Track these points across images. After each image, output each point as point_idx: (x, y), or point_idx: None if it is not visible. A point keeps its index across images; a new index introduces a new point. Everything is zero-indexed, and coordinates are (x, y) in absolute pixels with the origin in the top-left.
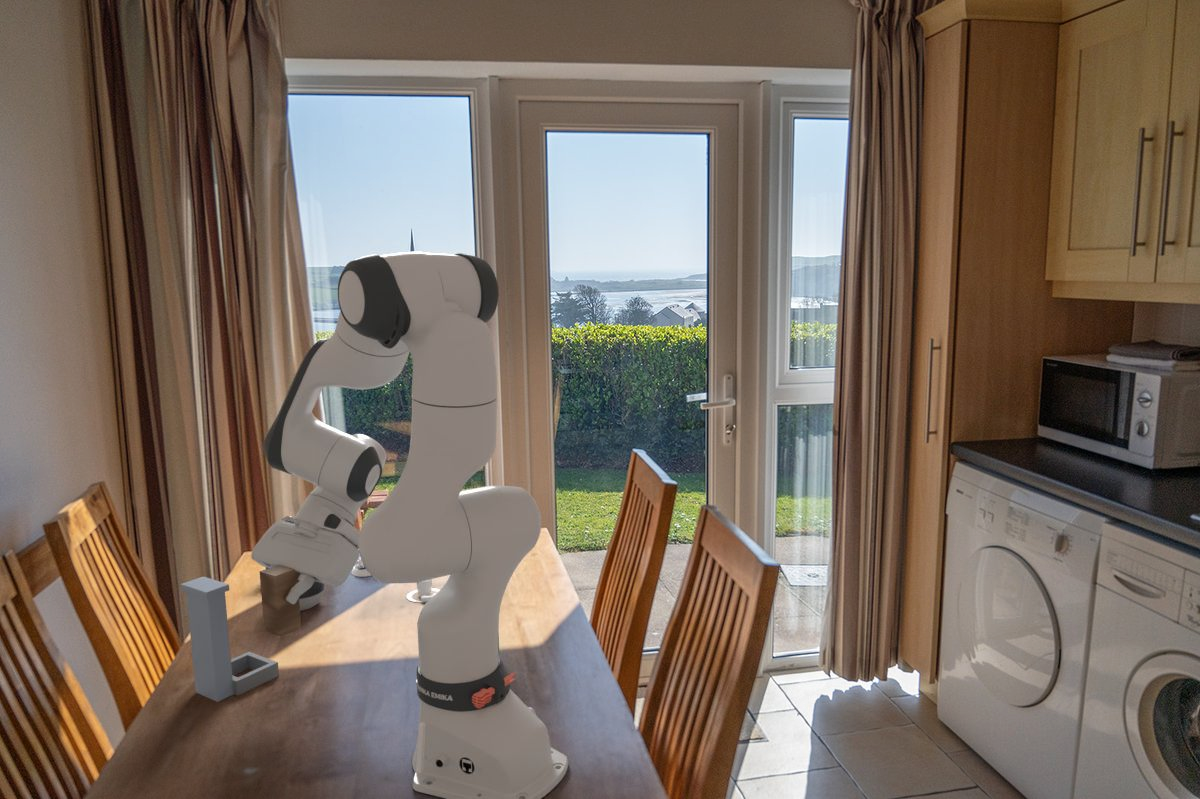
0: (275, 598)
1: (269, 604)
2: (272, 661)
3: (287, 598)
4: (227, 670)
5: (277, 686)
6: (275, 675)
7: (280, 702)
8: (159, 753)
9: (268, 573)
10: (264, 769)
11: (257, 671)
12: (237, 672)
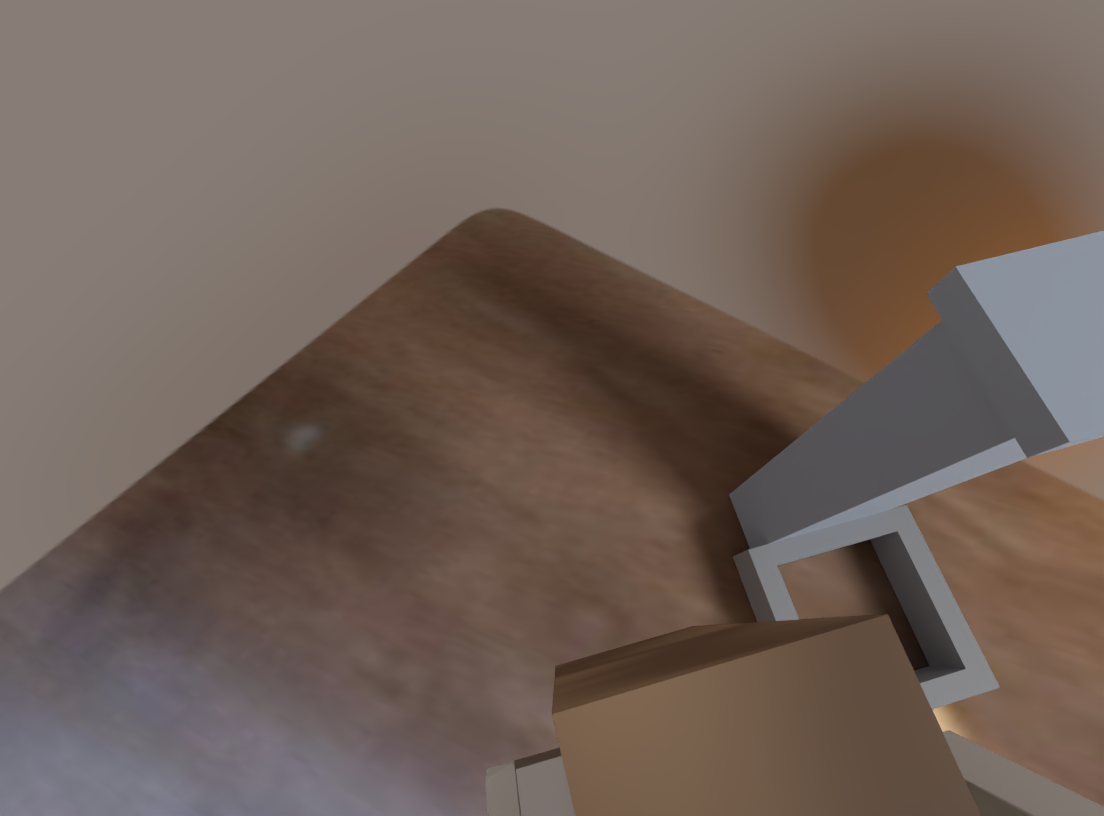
0: (580, 678)
1: (657, 649)
2: None
3: (498, 770)
4: (777, 519)
5: None
6: None
7: (594, 649)
8: (548, 308)
9: (725, 679)
10: (275, 464)
11: None
12: (908, 616)
